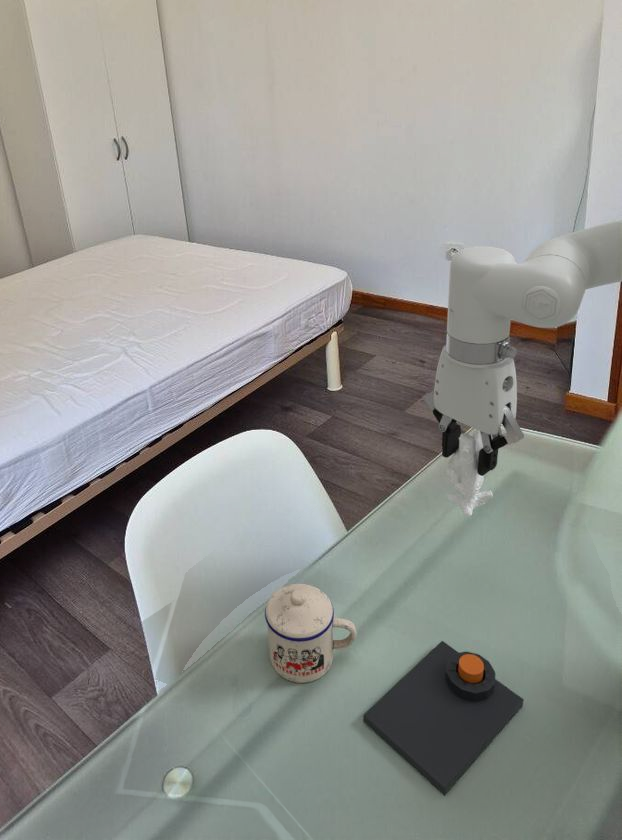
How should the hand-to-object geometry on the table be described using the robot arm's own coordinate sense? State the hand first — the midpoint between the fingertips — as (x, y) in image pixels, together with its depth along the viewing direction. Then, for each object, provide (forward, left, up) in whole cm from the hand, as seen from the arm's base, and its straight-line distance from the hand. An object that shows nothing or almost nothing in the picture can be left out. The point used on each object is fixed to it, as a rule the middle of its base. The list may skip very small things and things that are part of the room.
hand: (468, 460), depth 95 cm
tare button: (-12, +14, -20) cm, 27 cm away
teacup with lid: (+5, +26, -22) cm, 35 cm away
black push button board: (-12, +20, -22) cm, 32 cm away
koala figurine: (0, 0, -7) cm, 7 cm away
